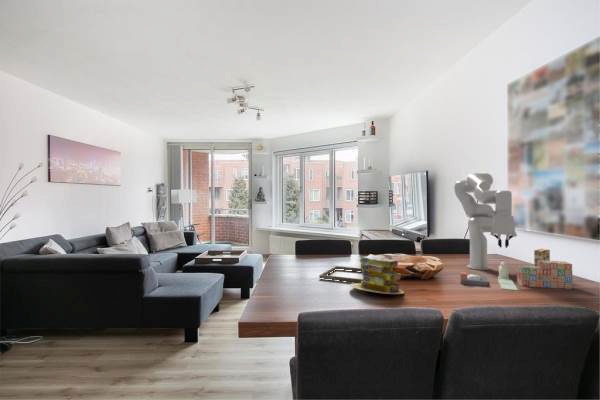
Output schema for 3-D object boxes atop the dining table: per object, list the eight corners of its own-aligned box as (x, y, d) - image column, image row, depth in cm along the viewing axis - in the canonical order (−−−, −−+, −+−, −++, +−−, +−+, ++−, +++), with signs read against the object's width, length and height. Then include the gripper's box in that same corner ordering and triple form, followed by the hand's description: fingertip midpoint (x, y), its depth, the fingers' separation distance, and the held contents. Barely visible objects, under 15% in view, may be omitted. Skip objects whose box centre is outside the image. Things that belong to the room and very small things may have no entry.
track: (497, 279, 177) (497, 278, 177) (511, 280, 174) (511, 279, 174) (501, 289, 158) (501, 288, 158) (517, 290, 155) (517, 289, 155)
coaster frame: (335, 270, 202) (335, 265, 202) (378, 274, 191) (378, 269, 191) (319, 279, 179) (319, 275, 179) (366, 285, 167) (366, 280, 167)
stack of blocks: (522, 286, 163) (522, 261, 163) (517, 283, 169) (516, 259, 169) (572, 289, 158) (572, 263, 158) (565, 285, 164) (565, 261, 164)
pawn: (497, 276, 182) (497, 260, 182) (508, 277, 180) (508, 261, 180) (498, 278, 178) (498, 262, 178) (509, 279, 176) (509, 263, 175)
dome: (466, 278, 175) (466, 273, 175) (480, 279, 173) (480, 274, 173) (466, 281, 170) (466, 276, 170) (480, 282, 167) (480, 277, 167)
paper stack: (372, 282, 172) (371, 250, 172) (414, 293, 153) (414, 257, 153) (339, 291, 157) (338, 256, 157) (381, 304, 138) (381, 264, 137)
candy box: (542, 279, 175) (542, 251, 175) (533, 278, 179) (533, 249, 179) (550, 277, 180) (550, 249, 180) (541, 275, 184) (541, 248, 184)
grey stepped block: (460, 278, 179) (460, 268, 179) (486, 280, 174) (485, 270, 174) (460, 283, 168) (460, 272, 168) (487, 286, 163) (487, 275, 163)
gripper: (486, 213, 179) (486, 247, 179) (522, 214, 172) (522, 249, 172) (486, 212, 185) (486, 245, 186) (519, 213, 178) (519, 247, 179)
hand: (503, 247), depth 179 cm, fingers closed
